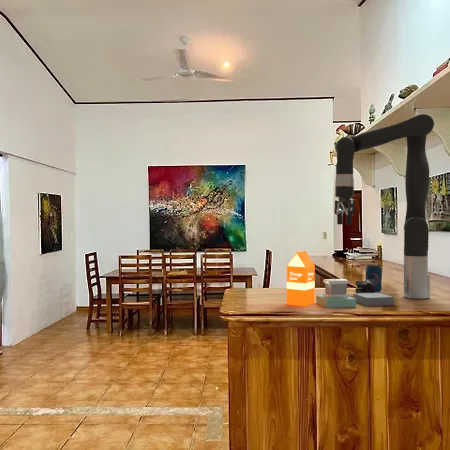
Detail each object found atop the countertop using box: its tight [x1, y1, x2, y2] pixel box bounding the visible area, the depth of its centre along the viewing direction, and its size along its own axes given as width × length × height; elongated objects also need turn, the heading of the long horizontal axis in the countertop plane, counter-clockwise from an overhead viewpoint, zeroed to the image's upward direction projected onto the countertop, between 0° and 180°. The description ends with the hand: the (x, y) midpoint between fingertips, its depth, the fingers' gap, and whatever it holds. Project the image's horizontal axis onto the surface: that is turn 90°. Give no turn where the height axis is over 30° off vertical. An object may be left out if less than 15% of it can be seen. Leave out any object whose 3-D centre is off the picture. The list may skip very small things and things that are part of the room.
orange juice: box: [286, 250, 316, 307], centre depth 184 cm, size 8×9×20 cm
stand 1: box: [315, 294, 357, 309], centre depth 182 cm, size 11×11×3 cm
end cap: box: [355, 279, 375, 293], centre depth 201 cm, size 10×7×7 cm
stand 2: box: [353, 292, 395, 307], centre depth 186 cm, size 11×11×3 cm
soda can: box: [365, 263, 383, 293], centre depth 215 cm, size 7×7×12 cm
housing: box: [322, 278, 350, 298], centre depth 182 cm, size 8×5×6 cm, turn 102°
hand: (344, 224), depth 202 cm, fingers open, 8 cm apart
